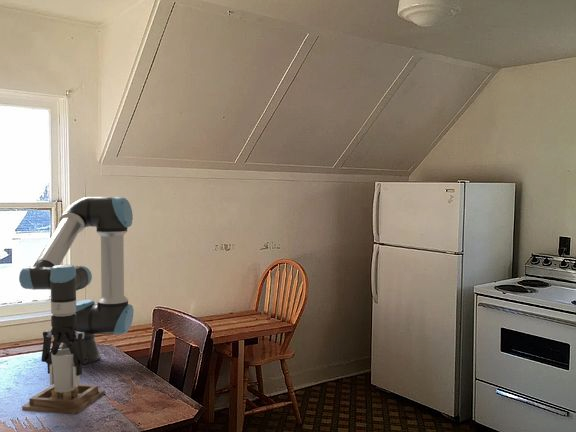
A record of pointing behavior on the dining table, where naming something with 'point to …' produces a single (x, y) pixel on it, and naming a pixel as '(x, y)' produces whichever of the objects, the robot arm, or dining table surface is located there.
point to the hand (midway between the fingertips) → (65, 384)
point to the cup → (63, 370)
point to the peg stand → (64, 399)
